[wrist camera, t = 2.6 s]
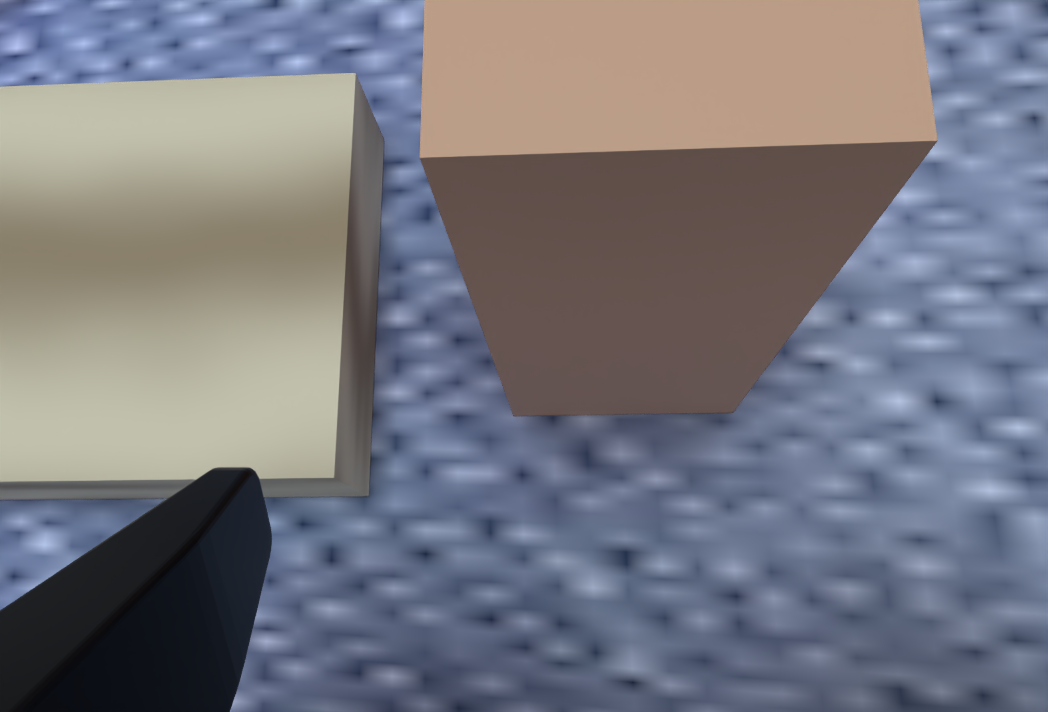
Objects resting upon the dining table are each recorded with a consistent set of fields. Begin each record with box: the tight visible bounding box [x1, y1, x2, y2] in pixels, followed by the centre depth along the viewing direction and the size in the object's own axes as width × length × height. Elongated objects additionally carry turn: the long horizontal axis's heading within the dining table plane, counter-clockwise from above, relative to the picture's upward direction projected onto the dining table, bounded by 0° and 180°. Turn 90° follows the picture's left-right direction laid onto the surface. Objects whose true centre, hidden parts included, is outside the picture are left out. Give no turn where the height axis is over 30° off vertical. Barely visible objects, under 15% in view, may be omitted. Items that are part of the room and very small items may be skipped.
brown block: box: [420, 0, 938, 416], centre depth 16 cm, size 5×5×12 cm
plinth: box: [0, 73, 384, 500], centre depth 21 cm, size 9×9×3 cm
